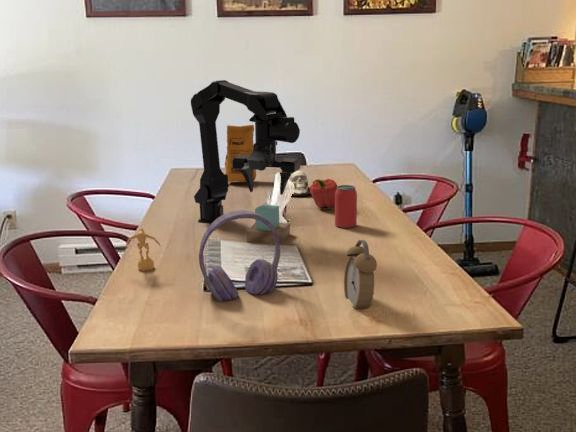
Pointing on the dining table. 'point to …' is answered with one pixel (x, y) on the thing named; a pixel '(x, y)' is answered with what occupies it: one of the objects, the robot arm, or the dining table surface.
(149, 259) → the figurine
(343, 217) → the beer can
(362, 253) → the alarm clock
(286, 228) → the walnut block
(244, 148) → the coffee package
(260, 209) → the teal block
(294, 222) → the dining table surface
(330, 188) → the vegetable
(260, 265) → the headphones
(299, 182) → the skull
